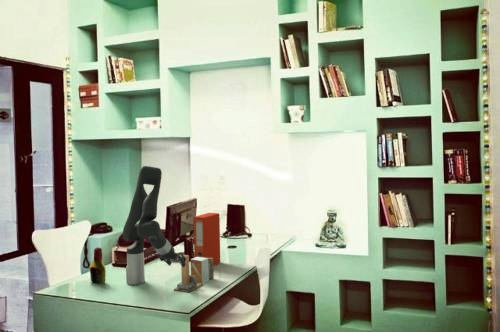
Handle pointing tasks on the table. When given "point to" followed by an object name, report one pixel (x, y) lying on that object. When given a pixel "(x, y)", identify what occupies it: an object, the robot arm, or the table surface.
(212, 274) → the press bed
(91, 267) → the bottle
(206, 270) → the small box
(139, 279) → the robot arm
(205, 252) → the file binder
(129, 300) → the table surface
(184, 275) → the wooden post on base
